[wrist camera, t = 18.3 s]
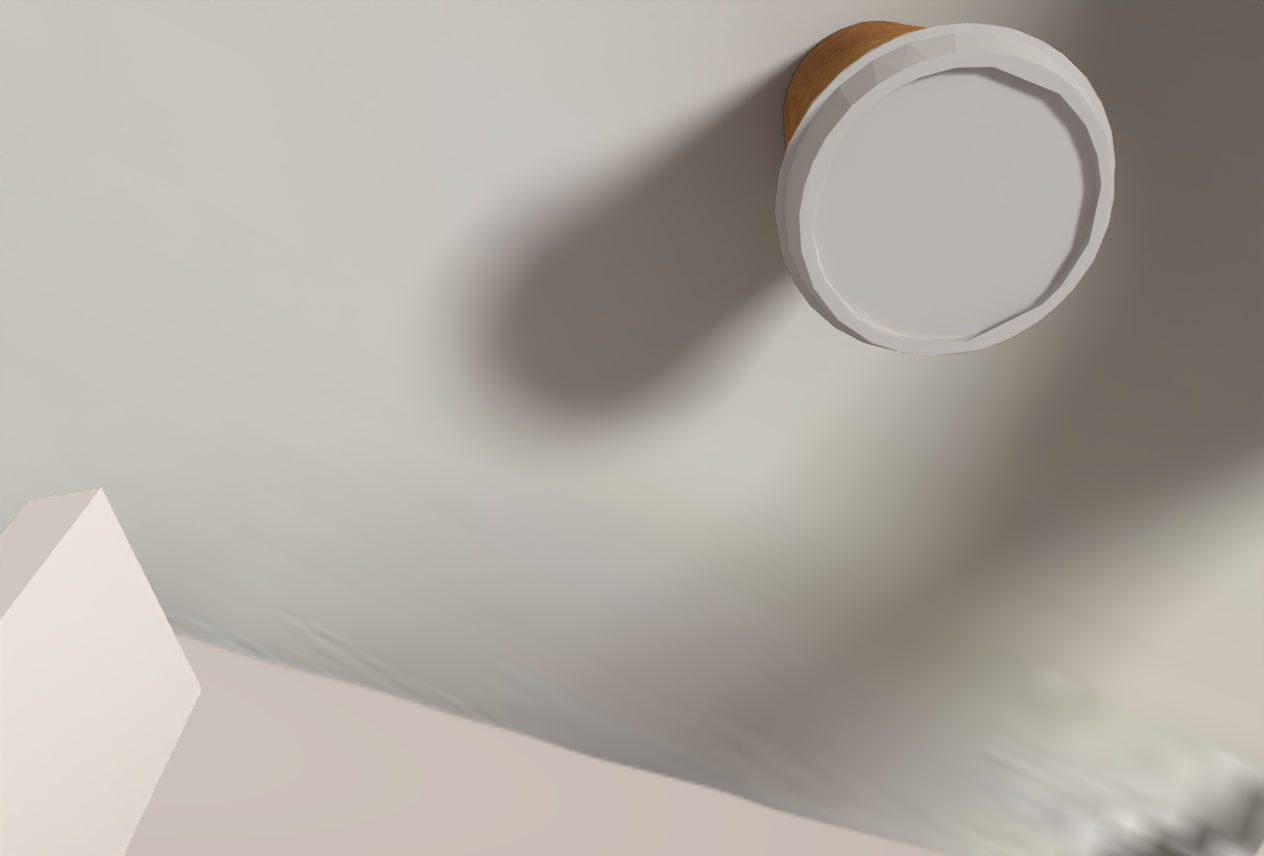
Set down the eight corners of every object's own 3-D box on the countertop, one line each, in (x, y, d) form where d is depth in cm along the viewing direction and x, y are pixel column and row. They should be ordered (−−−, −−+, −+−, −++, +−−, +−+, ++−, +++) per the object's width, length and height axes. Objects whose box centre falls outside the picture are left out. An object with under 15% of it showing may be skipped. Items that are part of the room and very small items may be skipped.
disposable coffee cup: (733, 235, 43) (771, 372, 33) (745, -29, 38) (793, 32, 28) (978, 233, 43) (1094, 369, 33) (1019, -30, 39) (1170, 30, 28)
